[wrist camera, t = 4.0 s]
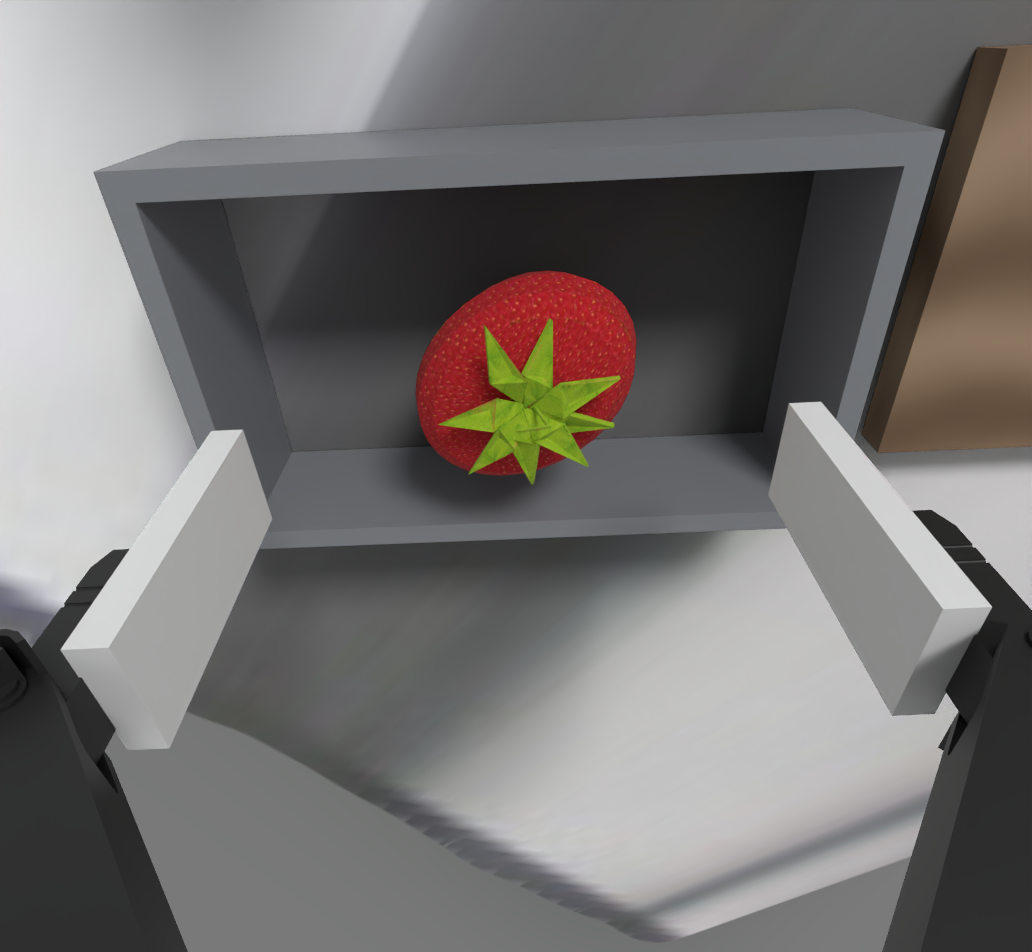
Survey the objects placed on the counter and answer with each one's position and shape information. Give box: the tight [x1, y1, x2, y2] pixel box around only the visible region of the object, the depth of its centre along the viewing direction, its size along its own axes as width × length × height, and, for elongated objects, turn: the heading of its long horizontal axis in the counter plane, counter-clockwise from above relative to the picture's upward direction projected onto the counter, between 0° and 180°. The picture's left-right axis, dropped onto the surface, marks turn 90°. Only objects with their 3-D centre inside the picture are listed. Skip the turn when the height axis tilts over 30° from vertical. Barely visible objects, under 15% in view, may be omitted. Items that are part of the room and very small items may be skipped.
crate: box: [94, 108, 945, 549], centre depth 23 cm, size 13×22×6 cm, turn 92°
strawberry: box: [416, 271, 636, 485], centre depth 21 cm, size 6×8×10 cm
